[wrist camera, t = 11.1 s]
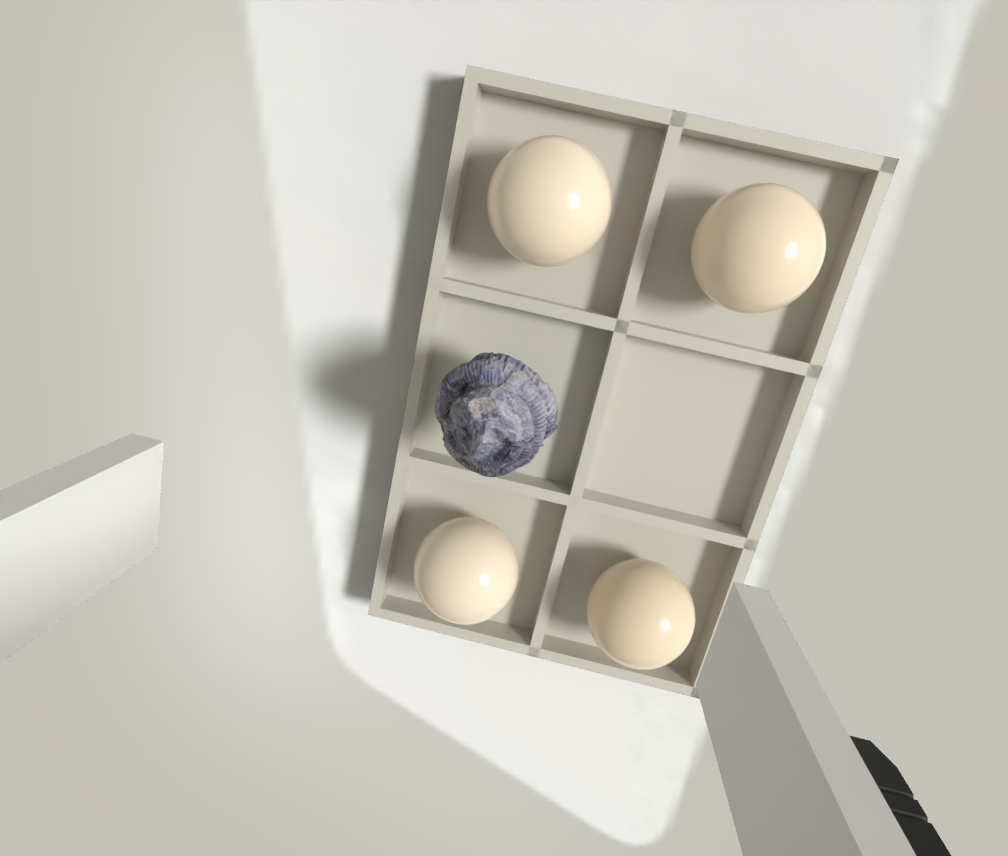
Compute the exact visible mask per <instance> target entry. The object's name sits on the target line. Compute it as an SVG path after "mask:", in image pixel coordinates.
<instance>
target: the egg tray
mask: <svg viewBox="0 0 1008 856" xmlns="http://www.w3.org/2000/svg"><path fill="white" fill-rule="evenodd" d="M544 135H558V136H564V137H568V138H571V139H574V140H576V141H578V142H580V143H581V144H583V145H585V146H586V147H587V148H589V149H590V150H591V151H592V152H593V153H594V154H595V155H596V156H597V157H598V159H599V160H600V162H601V163H602V165H603V166H604V168H605V170H606V172H607V175H608V178H609V181H610V185H611V190H612V209H611V215H610V219H609V222H608V225H607V227H606V229H605V232H604V234H603V235H602V237H601V238H600V240H599V241H598V243H597V244H596V245H595V246H594V247H593V248H592V249H591V250H590V251H589V252H588V253H587V254H585V255H584V256H583V257H581V258H580V259H578V260H576V261H574V262H572V263H569V264H567V265H563V266H559V267H538V266H533V265H530V264H527V263H525V262H523V261H520V260H519V259H517V258H516V257H514V256H513V255H511V254H510V253H509V252H508V251H507V250H506V249H505V248H504V247H503V246H502V245H501V243H500V242H499V241H498V239H497V238H496V236H495V234H494V232H493V230H492V227H491V225H490V221H489V217H488V211H487V194H488V188H489V184H490V180H491V178H492V175H493V173H494V171H495V169H496V167H497V166H498V164H499V163H500V161H501V160H502V159H503V157H504V156H505V155H506V154H507V153H508V152H509V151H510V150H512V149H513V148H514V147H515V146H517V145H519V144H520V143H522V142H524V141H526V140H528V139H531V138H534V137H538V136H544ZM898 160H899V159H896V158H891V157H887V156H882V155H878V154H873V153H868V152H864V151H859V150H855V149H850V148H845V147H841V146H836V145H832V144H827V143H823V142H818V141H813V140H809V139H804V138H800V137H795V136H791V135H786V134H781V133H777V132H772V131H768V130H763V129H759V128H754V127H749V126H745V125H740V124H736V123H731V122H727V121H722V120H717V119H713V118H708V117H704V116H699V115H695V114H690V113H685V112H681V111H676V110H672V109H667V108H663V107H658V106H653V105H649V104H644V103H640V102H635V101H631V100H626V99H621V98H617V97H612V96H608V95H603V94H599V93H594V92H589V91H585V90H580V89H576V88H571V87H566V86H562V85H557V84H553V83H548V82H544V81H539V80H534V79H530V78H525V77H521V76H516V75H512V74H507V73H502V72H498V71H493V70H489V69H484V68H480V67H475V66H470V65H467V68H466V73H465V79H464V84H463V90H462V95H461V101H460V107H459V112H458V118H457V123H456V129H455V134H454V140H453V145H452V151H451V156H450V162H449V168H448V173H447V179H446V184H445V190H444V195H443V201H442V206H441V212H440V218H439V223H438V229H437V234H436V240H435V245H434V251H433V256H432V262H431V267H430V273H429V279H428V284H427V290H426V295H425V301H424V306H423V312H422V317H421V323H420V328H419V334H418V340H417V345H416V351H415V356H414V362H413V367H412V373H411V378H410V384H409V389H408V395H407V401H406V406H405V412H404V417H403V423H402V428H401V434H400V439H399V445H398V451H397V456H396V462H395V467H394V473H393V478H392V484H391V489H390V495H389V500H388V506H387V512H386V517H385V523H384V528H383V534H382V539H381V545H380V550H379V556H378V561H377V567H376V573H375V578H374V584H373V589H372V595H371V600H370V606H369V611H368V615H371V616H375V617H379V618H383V619H387V620H391V621H395V622H399V623H402V624H406V625H410V626H414V627H418V628H422V629H426V630H430V631H434V632H438V633H442V634H446V635H450V636H454V637H458V638H462V639H466V640H470V641H474V642H478V643H482V644H486V645H489V646H493V647H497V648H501V649H505V650H509V651H513V652H517V653H521V654H525V655H529V656H533V657H537V658H541V659H545V660H549V661H553V662H557V663H561V664H565V665H569V666H573V667H576V668H580V669H584V670H588V671H592V672H596V673H600V674H604V675H608V676H612V677H616V678H620V679H624V680H628V681H632V682H636V683H640V684H644V685H648V686H652V687H656V688H660V689H663V690H667V691H671V692H675V693H679V694H683V695H687V696H691V697H695V698H699V699H700V697H699V694H698V690H697V686H696V683H697V680H698V678H699V675H700V672H701V669H702V667H703V664H704V661H705V658H706V656H707V653H708V650H709V647H710V645H711V642H712V639H713V637H714V634H715V631H716V628H717V626H718V623H719V620H720V617H721V615H722V612H723V609H724V606H725V604H726V601H727V598H728V596H729V593H730V590H731V587H732V585H733V582H737V583H741V584H743V583H744V580H745V577H746V575H747V572H748V569H749V566H750V564H751V561H752V558H753V555H754V553H755V550H756V547H757V545H758V542H759V539H760V536H761V534H762V531H763V528H764V525H765V523H766V520H767V517H768V515H769V512H770V509H771V506H772V504H773V501H774V498H775V495H776V493H777V490H778V487H779V485H780V482H781V479H782V476H783V474H784V471H785V468H786V465H787V463H788V460H789V457H790V455H791V452H792V449H793V446H794V444H795V441H796V438H797V436H798V433H799V430H800V427H801V425H802V422H803V419H804V416H805V414H806V411H807V408H808V406H809V403H810V400H811V397H812V395H813V392H814V389H815V386H816V384H817V381H818V378H819V376H820V373H821V370H822V367H823V365H824V362H825V359H826V356H827V354H828V351H829V348H830V346H831V343H832V340H833V337H834V335H835V332H836V329H837V326H838V324H839V321H840V318H841V316H842V313H843V310H844V307H845V305H846V302H847V299H848V296H849V294H850V291H851V288H852V286H853V283H854V280H855V277H856V275H857V272H858V269H859V266H860V264H861V261H862V258H863V256H864V253H865V250H866V247H867V245H868V242H869V239H870V236H871V234H872V231H873V228H874V226H875V223H876V220H877V217H878V215H879V212H880V209H881V207H882V204H883V201H884V198H885V196H886V193H887V190H888V187H889V185H890V182H891V179H892V177H893V174H894V171H895V168H896V166H897V163H898ZM756 183H775V184H781V185H784V186H788V187H790V188H792V189H794V190H796V191H798V192H800V193H801V194H803V195H804V196H805V197H806V198H808V199H809V200H810V201H811V202H812V204H813V205H814V206H815V207H816V209H817V210H818V212H819V214H820V216H821V218H822V221H823V223H824V227H825V231H826V253H825V258H824V261H823V264H822V267H821V269H820V271H819V273H818V275H817V277H816V278H815V280H814V281H813V283H812V284H811V285H810V287H809V288H808V289H807V290H806V291H805V292H804V293H803V294H802V295H801V296H800V297H798V298H797V299H796V300H794V301H793V302H791V303H790V304H788V305H786V306H784V307H782V308H779V309H776V310H774V311H770V312H766V313H760V314H744V313H738V312H734V311H731V310H728V309H726V308H723V307H721V306H720V305H718V304H717V303H715V302H714V301H712V300H711V299H710V298H709V297H708V296H707V295H706V294H705V293H704V292H703V291H702V289H701V288H700V286H699V285H698V283H697V281H696V279H695V276H694V273H693V270H692V265H691V244H692V240H693V236H694V233H695V230H696V228H697V226H698V224H699V222H700V220H701V218H702V217H703V215H704V214H705V212H706V211H707V210H708V209H709V208H710V207H711V206H712V205H713V204H714V203H715V202H716V201H717V200H718V199H720V198H721V197H723V196H724V195H725V194H727V193H729V192H731V191H732V190H734V189H737V188H739V187H742V186H746V185H749V184H756ZM485 352H486V353H490V352H493V353H495V354H497V353H501V354H503V353H504V354H505V355H508V356H511V357H513V358H515V359H517V360H521V361H522V362H523V364H525V365H527V366H528V367H529V368H531V369H532V370H533V372H536V373H538V375H539V376H540V377H541V378H542V381H543V382H545V383H546V382H548V384H549V387H550V388H551V389H552V390H553V393H554V395H555V396H556V400H557V405H558V419H557V426H558V427H557V430H556V431H555V432H553V433H552V434H551V435H550V436H549V437H548V438H546V439H545V440H543V444H544V446H541V447H540V449H539V452H538V453H537V454H536V455H535V457H534V458H533V459H532V460H531V462H530V463H528V464H527V465H525V466H522V467H520V468H517V469H516V470H514V471H511V472H510V473H508V474H506V475H503V476H497V477H485V476H482V475H480V474H478V473H475V472H472V471H471V470H469V469H467V468H466V467H464V466H463V465H461V464H460V463H459V462H457V461H456V460H455V459H454V458H453V457H452V456H451V455H450V454H449V453H448V451H447V450H446V448H445V446H444V441H443V440H442V439H443V432H442V430H441V426H440V424H439V422H438V420H437V419H436V417H435V412H434V411H435V398H436V395H437V386H438V385H439V383H440V382H441V381H442V380H443V378H444V377H445V376H446V375H447V374H448V373H449V372H450V371H452V370H453V369H454V368H455V367H456V366H459V365H461V364H463V363H467V362H470V360H472V359H473V358H474V357H475V356H476V355H478V354H481V353H485ZM459 517H475V518H480V519H483V520H486V521H488V522H490V523H492V524H494V525H496V526H497V527H498V528H500V529H501V530H502V531H503V532H504V533H505V534H506V535H507V537H508V538H509V539H510V541H511V543H512V544H513V546H514V548H515V551H516V554H517V558H518V563H519V578H518V583H517V586H516V589H515V592H514V594H513V596H512V598H511V599H510V601H509V602H508V604H507V605H506V606H505V607H504V608H503V609H502V610H501V611H500V612H499V613H498V614H497V615H495V616H494V617H492V618H490V619H488V620H486V621H484V622H481V623H477V624H471V625H461V624H455V623H451V622H448V621H445V620H443V619H441V618H439V617H438V616H436V615H435V614H433V613H432V612H431V611H430V610H429V609H428V608H427V607H426V606H425V604H424V603H423V602H422V600H421V598H420V597H419V594H418V592H417V590H416V586H415V582H414V575H413V569H414V560H415V557H416V553H417V551H418V548H419V546H420V544H421V543H422V541H423V540H424V538H425V537H426V536H427V535H428V533H429V532H431V531H432V530H433V529H434V528H435V527H437V526H438V525H440V524H441V523H443V522H445V521H448V520H451V519H454V518H459ZM630 559H646V560H651V561H655V562H658V563H660V564H662V565H664V566H666V567H667V568H669V569H671V570H672V571H673V572H674V573H676V574H677V575H678V576H679V577H680V578H681V580H682V581H683V582H684V584H685V585H686V586H687V588H688V590H689V592H690V594H691V596H692V599H693V603H694V607H695V628H694V632H693V635H692V638H691V640H690V643H689V644H688V646H687V647H686V649H685V650H684V651H683V653H682V654H681V655H680V656H679V657H678V658H676V659H675V660H674V661H672V662H670V663H669V664H667V665H665V666H662V667H659V668H656V669H649V670H640V669H633V668H629V667H626V666H623V665H621V664H619V663H617V662H615V661H614V660H612V659H611V658H610V657H608V656H607V655H606V654H605V653H604V652H603V651H602V650H601V649H600V647H599V646H598V645H597V643H596V642H595V640H594V638H593V636H592V634H591V632H590V629H589V625H588V621H587V601H588V597H589V594H590V591H591V589H592V587H593V585H594V583H595V581H596V580H597V579H598V577H599V576H600V575H601V574H602V573H603V572H604V571H605V570H607V569H608V568H609V567H611V566H613V565H614V564H617V563H619V562H622V561H625V560H630Z"/></svg>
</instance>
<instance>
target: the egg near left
mask: <svg viewBox="0 0 1008 856" xmlns="http://www.w3.org/2000/svg"><path fill="white" fill-rule="evenodd" d="M611 209H612V190H611V185H610V181H609V178H608V175H607V172H606V170H605V168H604V166H603V165H602V163H601V162H600V160H599V159H598V157H597V156H596V155H595V154H594V153H593V152H592V151H591V150H590V149H589V148H587V147H586V146H585V145H583V144H581V143H580V142H578V141H576V140H574V139H571V138H568V137H564V136H558V135H544V136H538V137H534V138H531V139H528V140H526V141H524V142H522V143H520V144H519V145H517V146H515V147H514V148H513V149H512V150H510V151H509V152H508V153H507V154H506V155H505V156H504V157H503V159H502V160H501V161H500V163H499V164H498V166H497V167H496V169H495V171H494V173H493V175H492V178H491V180H490V184H489V188H488V194H487V211H488V217H489V221H490V225H491V227H492V230H493V232H494V234H495V236H496V238H497V239H498V241H499V242H500V243H501V245H502V246H503V247H504V248H505V249H506V250H507V251H508V252H509V253H510V254H511V255H513V256H514V257H516V258H517V259H519V260H520V261H523V262H525V263H527V264H530V265H533V266H538V267H559V266H563V265H567V264H569V263H572V262H574V261H576V260H578V259H580V258H581V257H583V256H584V255H585V254H587V253H588V252H589V251H590V250H591V249H592V248H593V247H594V246H595V245H596V244H597V243H598V241H599V240H600V238H601V237H602V235H603V234H604V232H605V229H606V227H607V225H608V222H609V219H610V215H611Z"/></svg>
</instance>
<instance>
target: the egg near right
mask: <svg viewBox="0 0 1008 856" xmlns="http://www.w3.org/2000/svg"><path fill="white" fill-rule="evenodd" d="M825 253H826V231H825V227H824V223H823V221H822V218H821V216H820V214H819V212H818V210H817V209H816V207H815V206H814V205H813V204H812V202H811V201H810V200H809V199H808V198H806V197H805V196H804V195H803V194H801V193H800V192H798V191H796V190H794V189H792V188H790V187H788V186H784V185H781V184H775V183H756V184H749V185H746V186H742V187H739V188H737V189H734V190H732V191H731V192H729V193H727V194H725V195H724V196H723V197H721V198H720V199H718V200H717V201H716V202H715V203H714V204H713V205H712V206H711V207H710V208H709V209H708V210H707V211H706V212H705V214H704V215H703V217H702V218H701V220H700V222H699V224H698V226H697V228H696V230H695V233H694V236H693V240H692V244H691V265H692V270H693V273H694V276H695V279H696V281H697V283H698V285H699V286H700V288H701V289H702V291H703V292H704V293H705V294H706V295H707V296H708V297H709V298H710V299H711V300H712V301H714V302H715V303H717V304H718V305H720V306H721V307H723V308H726V309H728V310H731V311H734V312H738V313H744V314H760V313H766V312H770V311H774V310H776V309H779V308H782V307H784V306H786V305H788V304H790V303H791V302H793V301H794V300H796V299H797V298H798V297H800V296H801V295H802V294H803V293H804V292H805V291H806V290H807V289H808V288H809V287H810V285H811V284H812V283H813V281H814V280H815V278H816V277H817V275H818V273H819V271H820V269H821V267H822V264H823V261H824V258H825Z"/></svg>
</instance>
